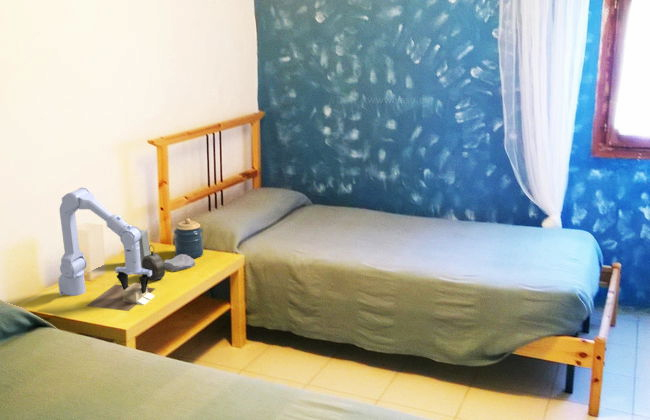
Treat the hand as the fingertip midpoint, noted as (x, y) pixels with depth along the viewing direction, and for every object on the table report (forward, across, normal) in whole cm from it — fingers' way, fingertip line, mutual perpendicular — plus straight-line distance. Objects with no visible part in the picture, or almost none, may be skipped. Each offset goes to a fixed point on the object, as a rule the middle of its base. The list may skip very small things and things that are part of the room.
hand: (135, 291), depth 269 cm
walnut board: (+4, -6, 0) cm, 7 cm away
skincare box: (+5, -18, +37) cm, 41 cm away
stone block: (+5, +1, +40) cm, 40 cm away
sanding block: (+3, 0, 0) cm, 3 cm away
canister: (+5, -2, +55) cm, 55 cm away
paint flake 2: (+4, +5, +2) cm, 6 cm away
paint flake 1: (+4, +5, -2) cm, 6 cm away
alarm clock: (+5, -3, +21) cm, 22 cm away
